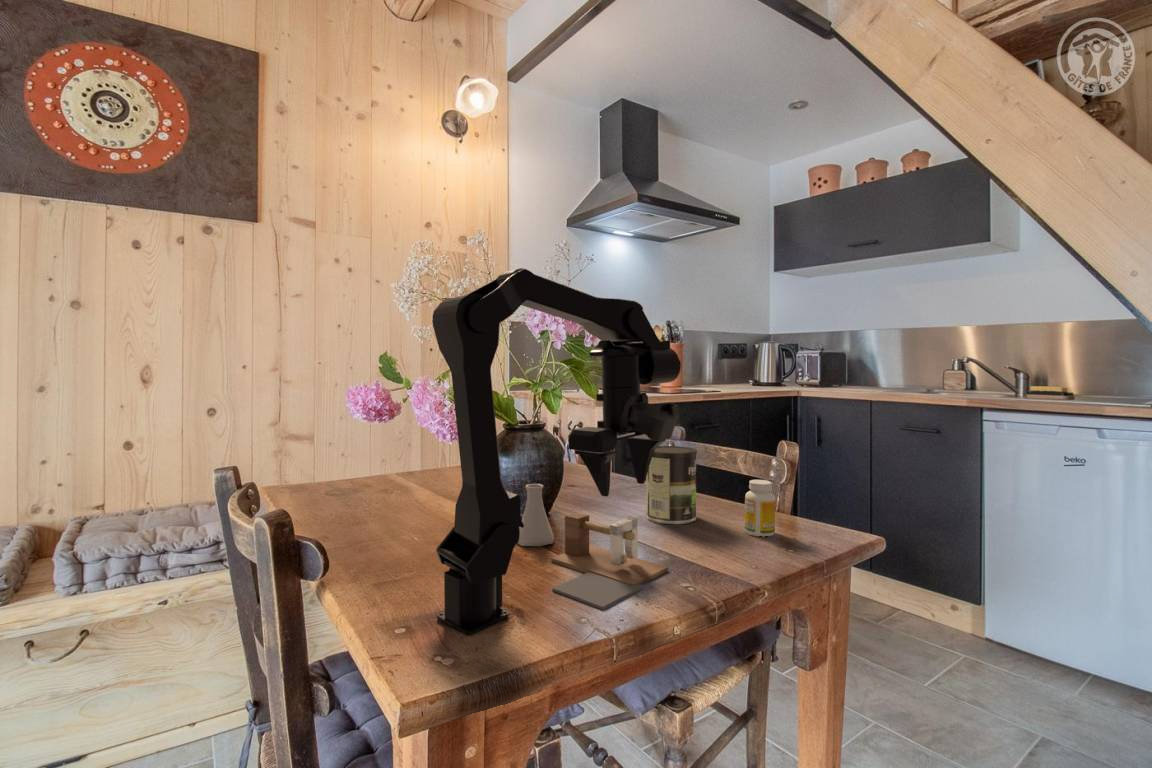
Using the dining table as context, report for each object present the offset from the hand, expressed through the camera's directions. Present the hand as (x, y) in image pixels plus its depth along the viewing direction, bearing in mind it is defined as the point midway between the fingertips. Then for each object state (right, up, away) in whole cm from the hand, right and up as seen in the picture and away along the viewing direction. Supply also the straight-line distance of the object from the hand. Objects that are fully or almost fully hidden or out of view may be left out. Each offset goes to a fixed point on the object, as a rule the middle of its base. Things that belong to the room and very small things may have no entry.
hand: (623, 489), depth 84 cm
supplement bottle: (+27, -12, +19) cm, 35 cm away
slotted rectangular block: (0, -11, 0) cm, 11 cm away
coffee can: (+12, -12, +30) cm, 34 cm away
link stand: (-3, -12, +3) cm, 13 cm away
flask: (-15, -12, +15) cm, 24 cm away
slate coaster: (-4, -13, -7) cm, 15 cm away
